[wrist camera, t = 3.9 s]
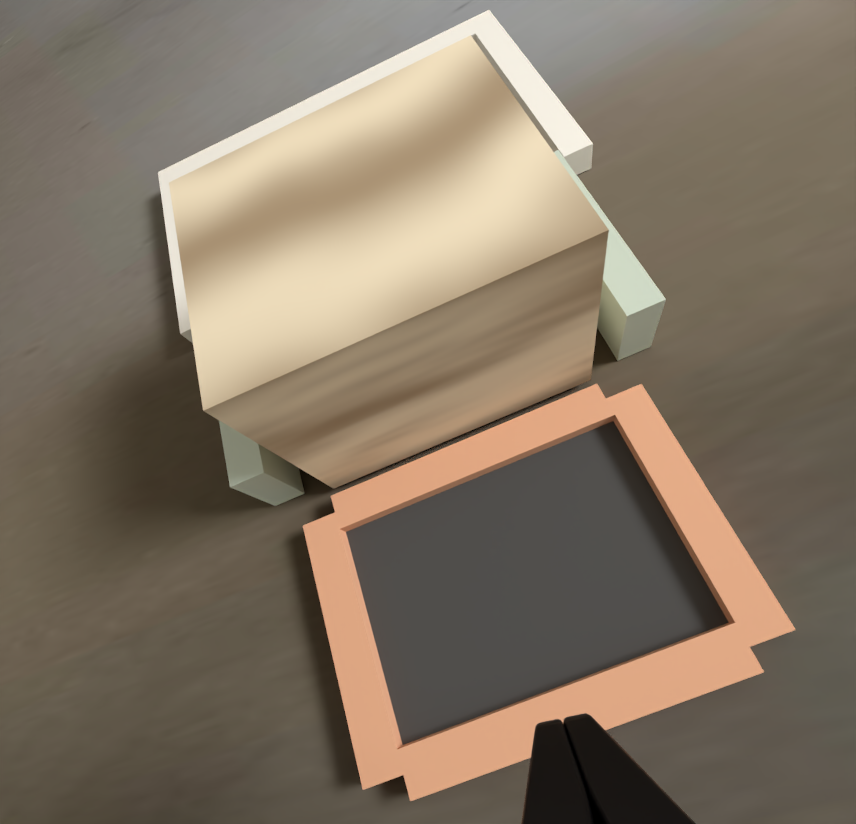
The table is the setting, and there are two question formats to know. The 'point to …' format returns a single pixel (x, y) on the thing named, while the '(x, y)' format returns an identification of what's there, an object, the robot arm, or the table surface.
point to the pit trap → (531, 590)
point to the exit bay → (482, 28)
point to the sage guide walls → (617, 322)
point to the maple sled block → (389, 271)
